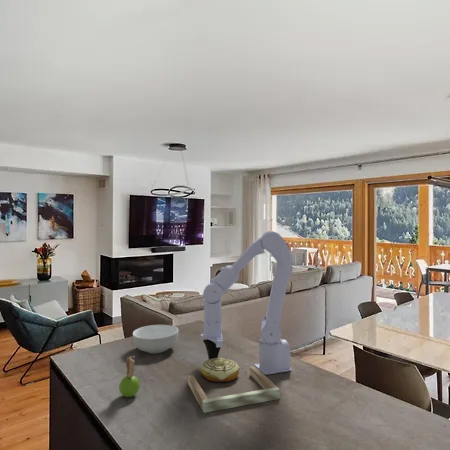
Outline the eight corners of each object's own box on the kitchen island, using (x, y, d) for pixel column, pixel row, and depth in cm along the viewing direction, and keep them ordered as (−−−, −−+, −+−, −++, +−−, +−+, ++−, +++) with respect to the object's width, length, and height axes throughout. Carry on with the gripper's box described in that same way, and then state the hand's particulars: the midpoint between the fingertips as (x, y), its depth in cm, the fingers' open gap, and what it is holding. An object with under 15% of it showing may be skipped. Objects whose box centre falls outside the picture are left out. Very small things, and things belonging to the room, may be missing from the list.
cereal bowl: (142, 341, 142) (142, 323, 142) (183, 343, 140) (183, 325, 140) (125, 357, 125) (124, 337, 125) (171, 359, 123) (171, 339, 123)
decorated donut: (225, 388, 102) (225, 373, 102) (193, 378, 108) (193, 364, 108) (245, 373, 111) (245, 360, 111) (215, 365, 118) (215, 353, 118)
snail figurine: (122, 404, 93) (122, 358, 93) (117, 394, 98) (117, 350, 98) (143, 399, 95) (143, 354, 95) (137, 389, 101) (137, 347, 101)
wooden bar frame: (254, 374, 111) (254, 366, 111) (279, 398, 95) (279, 389, 95) (188, 384, 104) (188, 375, 104) (203, 412, 88) (203, 402, 88)
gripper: (195, 316, 122) (195, 356, 122) (207, 327, 108) (207, 372, 108) (215, 314, 124) (215, 353, 124) (229, 325, 110) (229, 369, 111)
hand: (213, 362), depth 116 cm, fingers closed
